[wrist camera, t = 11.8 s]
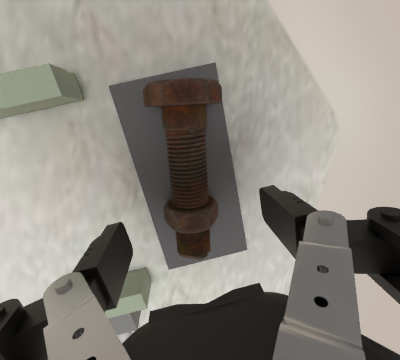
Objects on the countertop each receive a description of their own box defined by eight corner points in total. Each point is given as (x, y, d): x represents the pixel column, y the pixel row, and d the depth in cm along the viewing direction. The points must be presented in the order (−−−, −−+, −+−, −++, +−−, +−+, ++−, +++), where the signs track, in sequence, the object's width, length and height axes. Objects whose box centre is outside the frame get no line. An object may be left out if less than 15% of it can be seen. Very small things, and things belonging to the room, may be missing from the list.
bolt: (185, 231, 23) (173, 88, 18) (227, 240, 21) (227, 82, 16) (155, 266, 18) (127, 82, 13) (207, 282, 16) (196, 73, 11)
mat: (111, 87, 17) (108, 86, 17) (214, 64, 18) (215, 62, 17) (169, 265, 23) (168, 269, 23) (245, 246, 23) (247, 249, 23)
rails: (-24, 95, 16) (-75, 90, 13) (74, 74, 17) (48, 63, 13) (101, 335, 25) (89, 368, 22) (165, 318, 25) (163, 349, 22)
